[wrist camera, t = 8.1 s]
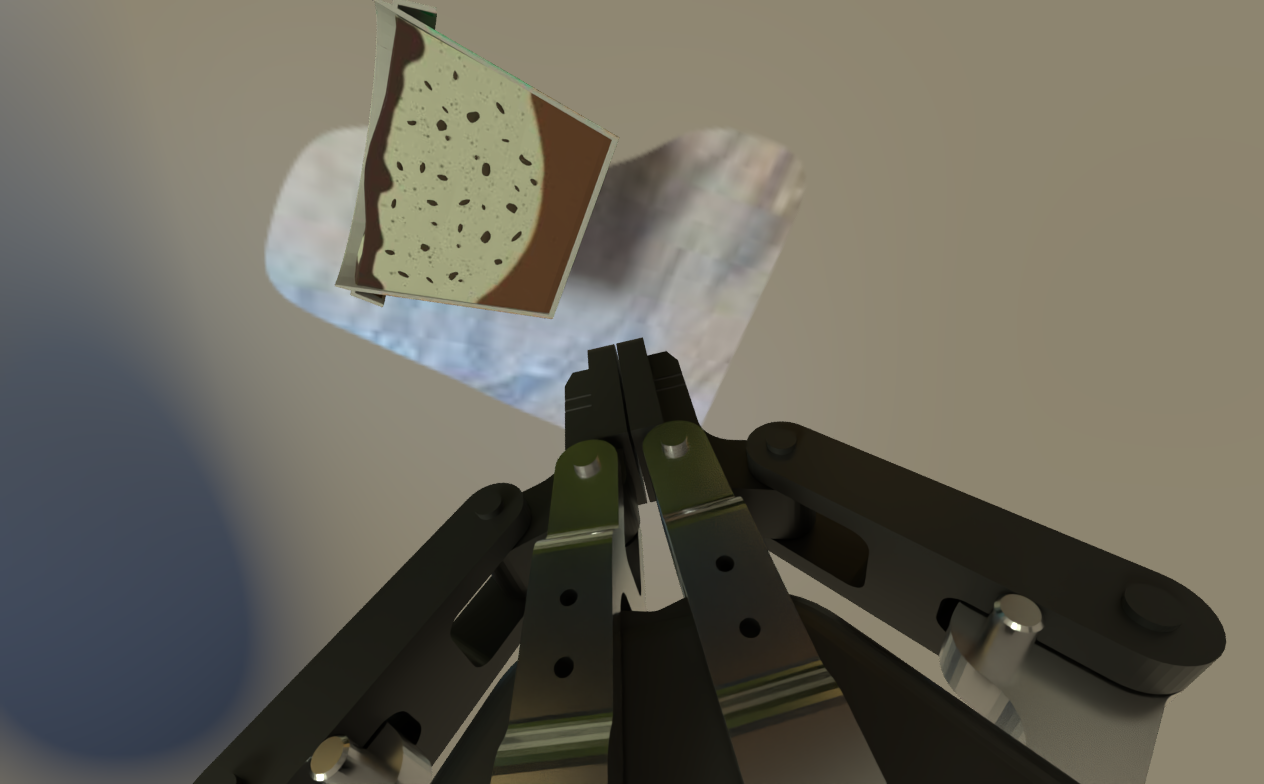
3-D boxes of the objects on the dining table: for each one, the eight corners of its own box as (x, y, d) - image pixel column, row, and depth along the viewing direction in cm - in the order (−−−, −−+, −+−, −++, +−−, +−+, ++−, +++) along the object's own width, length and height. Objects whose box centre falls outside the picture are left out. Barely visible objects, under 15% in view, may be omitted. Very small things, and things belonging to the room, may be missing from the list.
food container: (600, 82, 26) (389, -19, 22) (632, 101, 22) (373, -23, 17) (530, 292, 32) (352, 245, 28) (543, 342, 28) (333, 296, 23)
